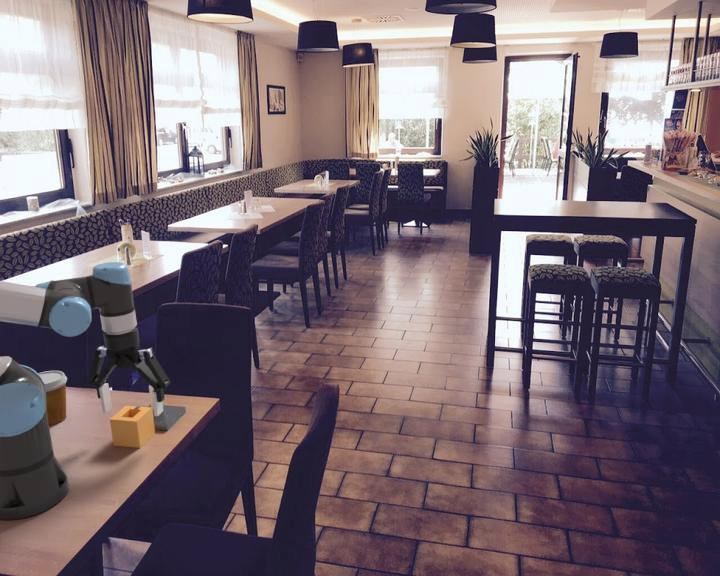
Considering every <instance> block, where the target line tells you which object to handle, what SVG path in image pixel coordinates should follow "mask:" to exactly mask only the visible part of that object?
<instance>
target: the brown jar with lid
mask: <svg viewBox="0 0 720 576" xmlns="http://www.w3.org/2000/svg"><path fill="white" fill-rule="evenodd" d="M37 373H38V374H39V376H40V377H41V378H42V380H43V382H44V384H45V388H46V405H47V417H48V423H49V426H53V425H57V424H60V423H62V422H64V421H65V420H66V419H67V385H66V383H67V381H68V377H67V376H66V374H65V373H64V372H63V371H61V370H48V371H46V370H45V371H43V372H37Z"/></svg>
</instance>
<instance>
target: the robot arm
mask: <svg viewBox="0 0 720 576" xmlns="http://www.w3.org/2000/svg"><path fill="white" fill-rule="evenodd" d="M96 309H98V310H99V317H100V323H101V330H102V331H103V333H102V335H103V340H104V341H103V342H104V345H100V346H99V347H96V348H95V349H94V350H93V352H94V355H93V356H94V359H93V362H92V365H91V368H90V371H89V374H88V377H87V380H86V383H87V384H88V385H93V386H94V387H95V389H96V395H97V398H98V399H99V400H100V403H101V408H102V413H104V414H106V413H107V412H108V411H110V410H111V409H112V408H113V404H112V398H111V393H110V386H109V385H110V384H109V383H106V382H107V380H108V378H109V377H110V375H111V373H112V372H113V371H114V370H115V369H116V367H117V368H119V369H121V368H125V369H132V370H133V371H134V372H137V373H138V374H139V376H141V377H142V378H143V379H144V380H145V381H146V383H148V385H151V386H152V387H153V390H152V391H151V392H152V399H153V406H154V413H155V416H159V415H160V414H161V413H162V412H163V404H164V403H163V404H162V401H163V402H164V400H165V392H164V391H165V389H166V387H168V386H169V385H171V380H170V378H169V377H168V375H167V374H166V372H165V369H163V367H162V366H161V364H160V363H159V361H158V359H157V358H156V356H155V351H154V349H153V347H148V348H147V349H142V348H141V347H140V335H139V328H138V327H137V325H138V321H137V316H136V309H135V301H134V294H133V286H132V280H131V276H130V271H129V266H128V265H127V264H125V262H120V261H119V262H118V261H108V262H104V263H99V264H97V265H95V266H93V267H92V273H91V274H89V275H87V276H80V277H73V278H67V279H66V278H65V279H58V280H49V281H45V282H42V283H37V284H36V285H35V286H33V285H27V284H20V283H14V282H9V281H5V280H3V281H2V280H0V322H5V323H11V324H17V325H26V326H33V327H38V328H39V327H40V328H44V329H45V328H46V329H53V331H54V332H56V333H57V334H59V335H61V336H63V337H67V338H69V337H70V338H71V337H76V336H80V335H81V334H83V333H85V332H86V331H87V330H88V328H89V327H90V325H91V323H92V318H93V317H92V310H96ZM106 356H107V358H109V362H107V364H106V366H105V368H104V369H103V371H102V372H101V370H102V366H103V365H104V361H105V357H106ZM137 363H138V364H137ZM38 373H39V372H37V371H36V370H35V369H33V368H32V367H30V366H27V365H24V364H19V363H18V362H17V361H16V360H15V359H13V357H10V356H9V355H8V356H7V355H6V356H5V355H4V356H0V520H2V521H3V520H4V521H12V520H13V521H14V520H21V519H25V518H30V517H33V516H35V515H38V514H41V513H43V512H45V511H47V510H49V509H51V508H53V507H54V506H56V505H57V504H59V503H60V502H61V501H62V500H63V499H64V498H65V497H64V496H67V493H68V492H69V490H70V484H69V478H68V477H69V476H68V474H67V473H66V472H65V470H64V468H63V466H62V465H61V463H60V462H59V461H58V459H57V458H56V456H55V452H54V447H53V446H54V445H53V441H52V436H51V431H50V430H51V429H50V425H49V423H48V417H47V405H46V388H45V384H44V382H43V380H42V378H41V377H40V376H39V374H38ZM100 373H101V374H100ZM63 497H64V498H63ZM62 498H63V499H62ZM61 499H62V500H61ZM60 500H61V501H60ZM59 501H60V502H59ZM55 504H56V505H55ZM52 506H53V507H52Z"/></svg>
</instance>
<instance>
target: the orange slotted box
mask: <svg viewBox="0 0 720 576" xmlns="http://www.w3.org/2000/svg"><path fill="white" fill-rule="evenodd" d="M109 423H110V430H111V436H112V444H113V446H114V447H115V446H116V447H126V448H139V449H141V448H142V447H144V445H145V444H146V443H147V442H148V441H149V440H150V439H151V438H152V437H153V436H154V435H155V434H156V430H155V427H154V419H153V411H152V408H150V407H148V406H147V407H146V406H138V405H137V406H135V405H134V406H133V405H124V407H123V408H121V409H120V410H119V411H118V412H117V413H115V414H114V415H113V416H112V417H111V418H109Z"/></svg>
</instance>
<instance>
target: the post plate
mask: <svg viewBox="0 0 720 576" xmlns="http://www.w3.org/2000/svg"><path fill="white" fill-rule="evenodd" d="M148 390H149V391H148V392H149V400H150V404H149V405H148V406H147V407H150V408H152V411H153V419H154V427H155V431H167V432H168V431H169V430H170V429H171V428H172V427H173V426H174V425H175V424H176V423H177V422H178V421H179V420H180V419H181V417H183V416H184V414H186V412H187V410H186V406H180V405H179V406H178V405H167V404H164V400H163V401H162V404H163V412H162V413H161V414H160V415H159V416H155V413H154V406H153V399H152V392H151V391H152V390H153V387H152V386H151V385H150V384H148Z"/></svg>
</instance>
